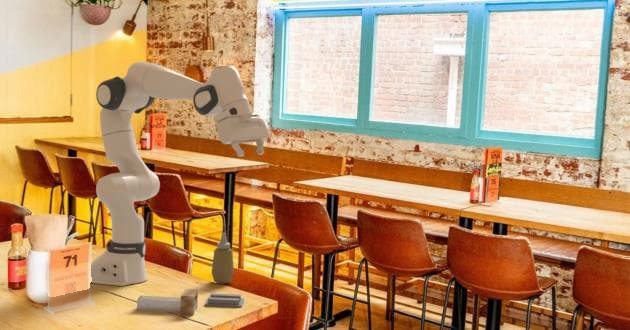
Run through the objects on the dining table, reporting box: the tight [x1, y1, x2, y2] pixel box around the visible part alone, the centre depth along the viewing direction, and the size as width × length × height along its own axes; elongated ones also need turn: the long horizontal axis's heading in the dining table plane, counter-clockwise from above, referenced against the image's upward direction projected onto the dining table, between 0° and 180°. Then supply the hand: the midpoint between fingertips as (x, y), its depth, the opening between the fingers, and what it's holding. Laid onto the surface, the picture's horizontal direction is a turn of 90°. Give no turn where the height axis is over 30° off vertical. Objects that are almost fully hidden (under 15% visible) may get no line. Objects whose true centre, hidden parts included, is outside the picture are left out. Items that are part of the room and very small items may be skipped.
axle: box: [136, 295, 198, 314], centre depth 235 cm, size 18×4×4 cm, turn 89°
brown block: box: [179, 288, 199, 316], centre depth 235 cm, size 4×8×6 cm, turn 0°
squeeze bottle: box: [211, 232, 235, 285], centre depth 269 cm, size 8×8×18 cm
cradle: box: [204, 292, 245, 308], centre depth 245 cm, size 12×8×2 cm, turn 90°
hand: (251, 155), depth 232 cm, fingers open, 8 cm apart
